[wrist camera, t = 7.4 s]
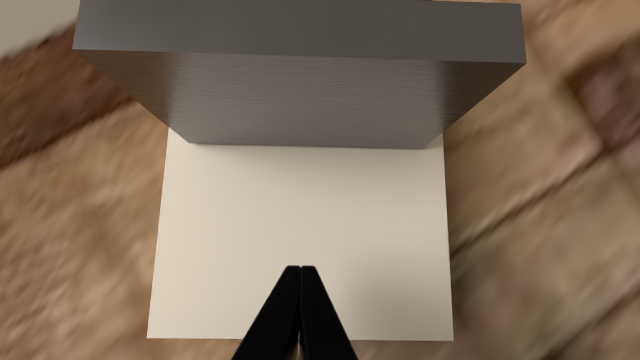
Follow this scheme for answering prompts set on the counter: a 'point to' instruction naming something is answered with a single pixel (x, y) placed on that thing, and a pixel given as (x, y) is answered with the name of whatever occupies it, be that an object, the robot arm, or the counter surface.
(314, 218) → the door block
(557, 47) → the counter surface
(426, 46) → the grey piece
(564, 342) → the counter surface
